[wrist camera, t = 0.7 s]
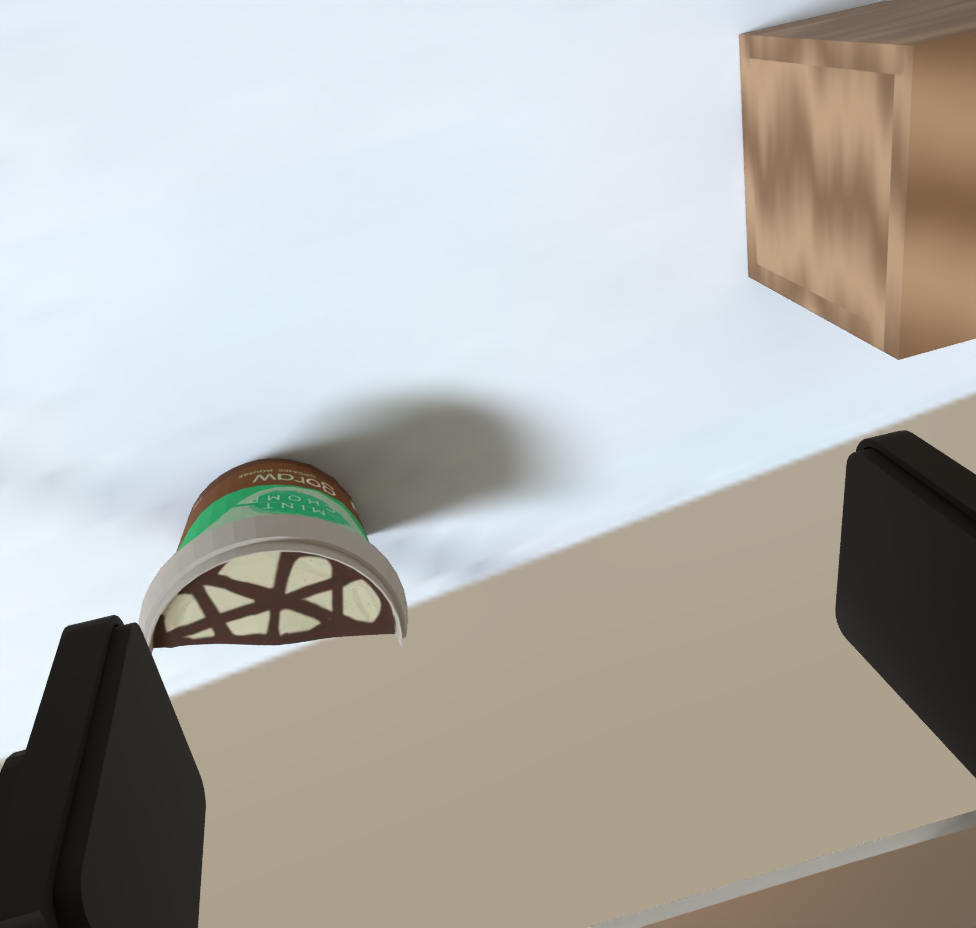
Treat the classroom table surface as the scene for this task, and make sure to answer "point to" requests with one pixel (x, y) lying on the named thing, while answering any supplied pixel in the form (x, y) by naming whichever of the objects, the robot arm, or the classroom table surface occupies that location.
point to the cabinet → (866, 169)
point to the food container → (273, 566)
